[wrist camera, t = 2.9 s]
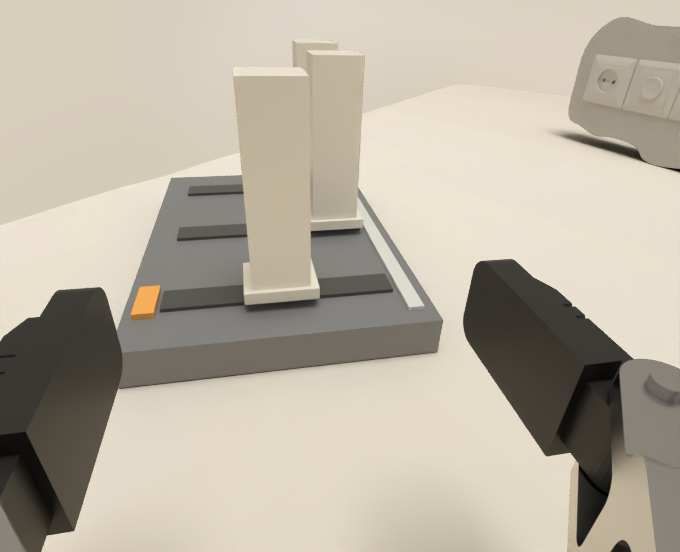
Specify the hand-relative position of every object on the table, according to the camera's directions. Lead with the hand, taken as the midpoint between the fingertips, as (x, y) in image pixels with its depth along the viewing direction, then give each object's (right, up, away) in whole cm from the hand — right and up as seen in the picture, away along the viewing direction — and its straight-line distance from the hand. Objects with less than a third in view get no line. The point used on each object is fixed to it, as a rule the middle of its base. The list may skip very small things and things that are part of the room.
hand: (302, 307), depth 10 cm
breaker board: (-4, +2, +21) cm, 21 cm away
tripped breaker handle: (-2, 0, +13) cm, 13 cm away
